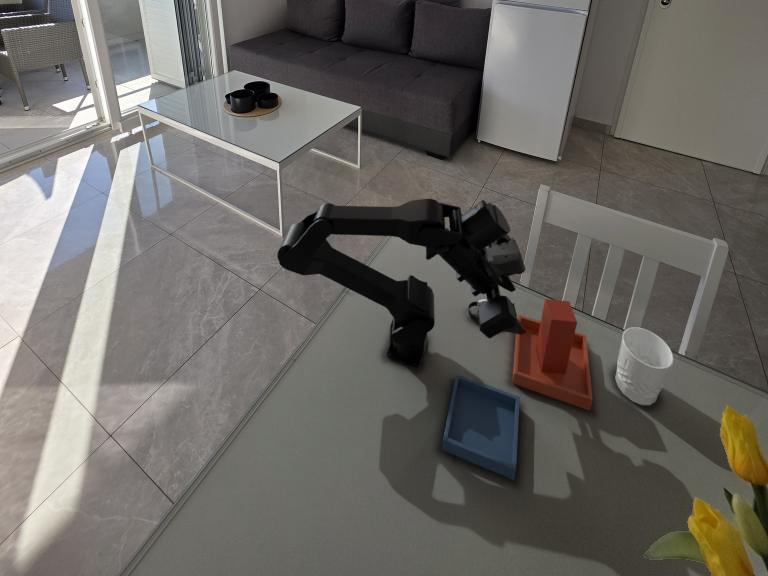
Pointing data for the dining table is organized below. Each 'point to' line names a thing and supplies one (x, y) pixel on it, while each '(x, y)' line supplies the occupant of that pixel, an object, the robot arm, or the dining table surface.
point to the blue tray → (483, 426)
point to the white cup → (642, 365)
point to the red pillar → (555, 336)
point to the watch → (476, 305)
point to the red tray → (559, 386)
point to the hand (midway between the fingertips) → (518, 310)
